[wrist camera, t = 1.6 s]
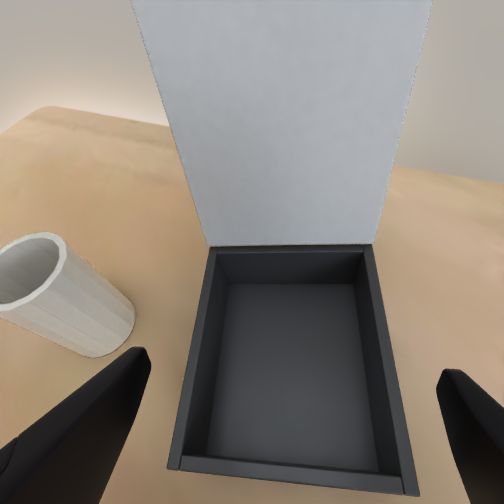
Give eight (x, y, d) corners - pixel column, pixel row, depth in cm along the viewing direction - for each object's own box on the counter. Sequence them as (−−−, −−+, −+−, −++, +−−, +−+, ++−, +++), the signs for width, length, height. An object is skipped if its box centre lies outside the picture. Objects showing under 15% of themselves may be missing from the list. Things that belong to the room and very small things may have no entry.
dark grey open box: (389, 486, 18) (421, 497, 13) (197, 466, 20) (165, 469, 15) (359, 281, 26) (372, 243, 21) (224, 280, 28) (209, 246, 23)
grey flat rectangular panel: (448, -60, 10) (440, -59, 11) (127, -7, 12) (134, -9, 13) (374, 243, 21) (372, 236, 21) (207, 246, 23) (209, 239, 23)
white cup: (91, 372, 25) (-12, 331, 16) (61, 328, 27) (-39, 275, 19) (148, 320, 27) (81, 261, 19) (114, 284, 29) (44, 219, 21)
